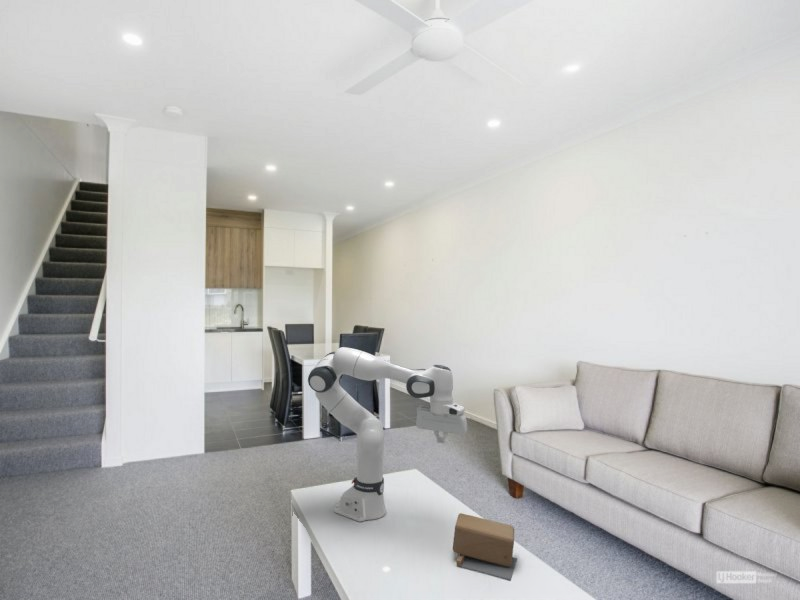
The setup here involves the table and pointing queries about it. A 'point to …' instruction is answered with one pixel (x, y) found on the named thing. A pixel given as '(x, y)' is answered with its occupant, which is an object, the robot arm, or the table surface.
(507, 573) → the mat
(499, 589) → the table surface
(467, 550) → the wooden block
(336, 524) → the table surface
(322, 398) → the robot arm
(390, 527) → the table surface
